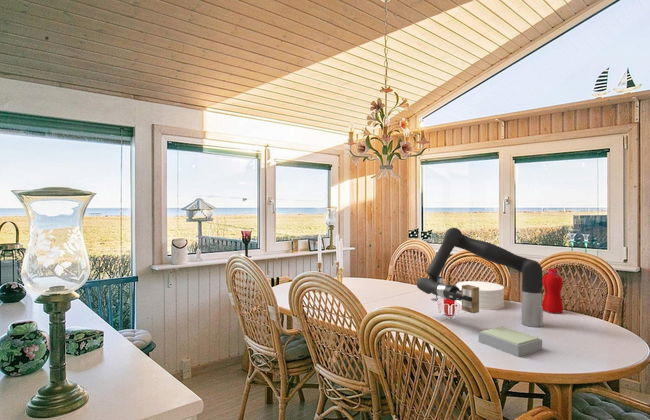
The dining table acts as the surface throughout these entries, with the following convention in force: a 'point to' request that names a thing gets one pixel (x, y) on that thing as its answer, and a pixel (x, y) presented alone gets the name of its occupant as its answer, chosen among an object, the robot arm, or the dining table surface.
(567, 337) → the dining table surface
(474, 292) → the frame
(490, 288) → the plate stack
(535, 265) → the robot arm
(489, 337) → the display stand
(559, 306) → the water bottle
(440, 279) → the wine glass
